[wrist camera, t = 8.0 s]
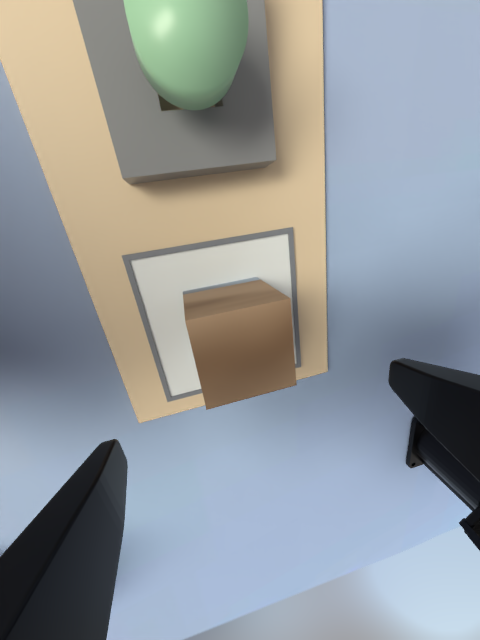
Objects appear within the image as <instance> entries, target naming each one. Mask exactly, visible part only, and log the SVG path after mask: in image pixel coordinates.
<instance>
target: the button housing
mask: <svg viewBox="0 0 480 640" xmlns="http://www.w3.org/2000/svg"><path fill="white" fill-rule="evenodd" d="M73 4H74V7H75V11H76V15H77V18H78V22H79V25H80V29H81V32H82V36H83V39H84V43H85V47H86V50H87V54H88V57H89V61H90V64H91V68H92V72H93V75H94V79H95V82H96V86H97V89H98V93H99V97H100V100H101V104H102V107H103V111H104V114H105V118H106V122H107V125H108V129H109V132H110V136H111V139H112V143H113V146H114V150H115V154H116V157H117V161H118V164H119V168H120V171H121V175H122V179H124V180H125V181H126V182H127V183H128V184H129V185H130V184H138V183H146V182H154V181H162V180H170V179H178V178H186V177H194V176H202V175H210V174H218V173H226V172H234V171H242V170H250V169H258V168H265V167H267V166H268V165H270V164H271V163H273V162H274V161H276V148H275V135H274V122H273V109H272V96H271V82H270V69H269V56H268V43H267V30H266V17H265V4H264V0H247V6H248V19H249V24H248V36H247V42H246V46H245V50H244V53H243V56H242V58H241V61H240V63H239V66H238V69H237V71H236V74H235V76H234V79H233V82H232V84H231V86H230V88H229V90H228V91H227V93H226V94H225V96H224V97H223V98H222V99H221V100H220V101H219V102H217V103H216V104H215V107H209V108H206V109H203V110H186V109H183V110H170V111H161V107H160V102H159V98H158V93H157V92H156V91H155V90H154V88H153V87H152V86H151V85H150V83H149V82H148V80H147V79H146V77H145V76H144V74H143V72H142V70H141V68H140V65H139V63H138V60H137V57H136V54H135V50H134V46H133V42H132V37H131V33H130V29H129V25H128V21H127V17H126V12H125V6H124V0H73Z"/></svg>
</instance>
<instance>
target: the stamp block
mask: <svg viewBox="0 0 480 640" xmlns="http://www.w3.org/2000/svg"><path fill="white" fill-rule="evenodd" d="M183 303H184V314H185V323H186V327H187V331H188V335H189V339H190V343H191V347H192V352H193V356H194V360H195V364H196V368H197V372H198V376H199V381H200V385H201V389H202V393H203V397H204V401H205V405H206V410H207V409H211V408H215V407H218V406H222V405H225V404H229V403H233V402H236V401H240V400H244V399H247V398H251V397H255V396H258V395H262V394H265V393H269V392H273V391H276V390H280V389H284V388H287V387H291V386H295V385H296V370H295V356H294V341H293V327H292V312H291V298H289V297H288V296H286V295H285V294H283V293H281V292H280V291H278V290H277V289H275V288H273V287H272V286H270V285H269V284H267V283H265V282H264V281H262V280H261V279H259V278H258V277H254V278H249V279H244V280H238V281H233V282H228V283H223V284H218V285H213V286H208V287H202V288H197V289H192V290H187V291H183Z"/></svg>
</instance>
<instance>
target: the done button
mask: <svg viewBox="0 0 480 640" xmlns="http://www.w3.org/2000/svg"><path fill="white" fill-rule="evenodd" d="M124 6H125V12H126V17H127V21H128V25H129V29H130V33H131V37H132V42H133V46H134V50H135V54H136V57H137V60H138V63H139V65H140V68H141V70H142V72H143V74H144V76H145V77H146V79H147V80H148V82H149V83H150V85H151V86H152V87H153V88H154V90H155V91H156V92H157V93H158V94H159V95H160V96H161V97H163V98H164V99H165V100H166V101H168V102H169V103H171V104H173V105H175V106H177V107H179V108H183V109H186V110H203V109H206V108H209V107H211V106H213V105H215V104H216V103H217V102H219V101H220V100H221V99H222V98H223V97H224V96H225V94H226V93H227V91H228V90H229V88H230V86H231V84H232V82H233V79H234V76H235V74H236V71H237V69H238V66H239V63H240V61H241V58H242V56H243V53H244V50H245V46H246V42H247V36H248V24H249V19H248V6H247V0H124Z"/></svg>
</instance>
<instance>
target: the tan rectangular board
mask: <svg viewBox="0 0 480 640" xmlns="http://www.w3.org/2000/svg"><path fill="white" fill-rule="evenodd" d="M264 4H265V17H266V30H267V43H268V56H269V69H270V82H271V96H272V109H273V122H274V135H275V148H276V161H274V162H273V163H271V164H270V165H268V166H267V167H265V168H258V169H250V170H242V171H234V172H226V173H218V174H210V175H202V176H194V177H186V178H178V179H170V180H162V181H154V182H146V183H138V184H130V185H129V184H128V183H127V182H126V181H125V180H124V179H122V175H121V171H120V168H119V164H118V161H117V157H116V154H115V150H114V146H113V143H112V139H111V136H110V132H109V129H108V125H107V122H106V118H105V114H104V111H103V107H102V104H101V100H100V97H99V93H98V89H97V86H96V82H95V79H94V75H93V72H92V68H91V64H90V61H89V57H88V54H87V50H86V47H85V43H84V39H83V36H82V32H81V29H80V25H79V22H78V18H77V15H76V11H75V7H74V4H73V0H0V60H1V62H2V65H3V68H4V70H5V73H6V76H7V78H8V81H9V83H10V86H11V89H12V91H13V94H14V96H15V99H16V102H17V104H18V107H19V110H20V112H21V115H22V117H23V120H24V123H25V125H26V128H27V131H28V133H29V136H30V138H31V141H32V144H33V146H34V149H35V152H36V154H37V157H38V159H39V162H40V165H41V167H42V170H43V173H44V175H45V178H46V180H47V183H48V186H49V188H50V191H51V194H52V196H53V199H54V201H55V204H56V207H57V209H58V212H59V215H60V217H61V220H62V222H63V225H64V228H65V230H66V233H67V235H68V238H69V241H70V243H71V246H72V249H73V251H74V254H75V256H76V259H77V262H78V264H79V267H80V270H81V272H82V275H83V277H84V280H85V283H86V285H87V288H88V291H89V293H90V296H91V298H92V301H93V304H94V306H95V309H96V312H97V314H98V317H99V319H100V322H101V325H102V327H103V330H104V333H105V335H106V338H107V340H108V343H109V346H110V348H111V351H112V354H113V356H114V359H115V361H116V364H117V367H118V369H119V372H120V374H121V377H122V380H123V382H124V385H125V388H126V390H127V393H128V395H129V398H130V401H131V403H132V406H133V409H134V411H135V414H136V416H137V419H138V422H139V423H142V422H146V421H149V420H153V419H157V418H160V417H164V416H168V415H171V414H175V413H178V412H182V411H186V410H189V409H193V408H197V407H200V406H204V405H205V401H204V397H203V393H202V389H201V385H200V381H199V376H198V372H197V368H196V364H195V360H194V356H193V352H192V347H191V343H190V339H189V335H188V331H187V327H186V323H185V314H184V303H183V291H187V290H192V289H197V288H202V287H208V286H213V285H218V284H223V283H228V282H233V281H238V280H244V279H249V278H254V277H258V278H259V279H261V280H262V281H264V282H265V283H267V284H269V285H270V286H272V287H273V288H275V289H277V290H278V291H280V292H281V293H283V294H285V295H286V296H288V297H289V298H291V312H292V327H293V341H294V356H295V370H296V380H299V379H303V378H307V377H310V376H314V375H318V374H321V373H325V372H328V365H327V295H326V225H325V154H324V84H323V13H322V0H264ZM158 98H159V102H160V107H161V111H170V110H183V108H179V107H177V106H175V105H173V104H171V103H169V102H168V101H166V100H165V99H164V98H163V97H161V96H160V95H159V94H158ZM211 107H215V105H213V106H211Z"/></svg>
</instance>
